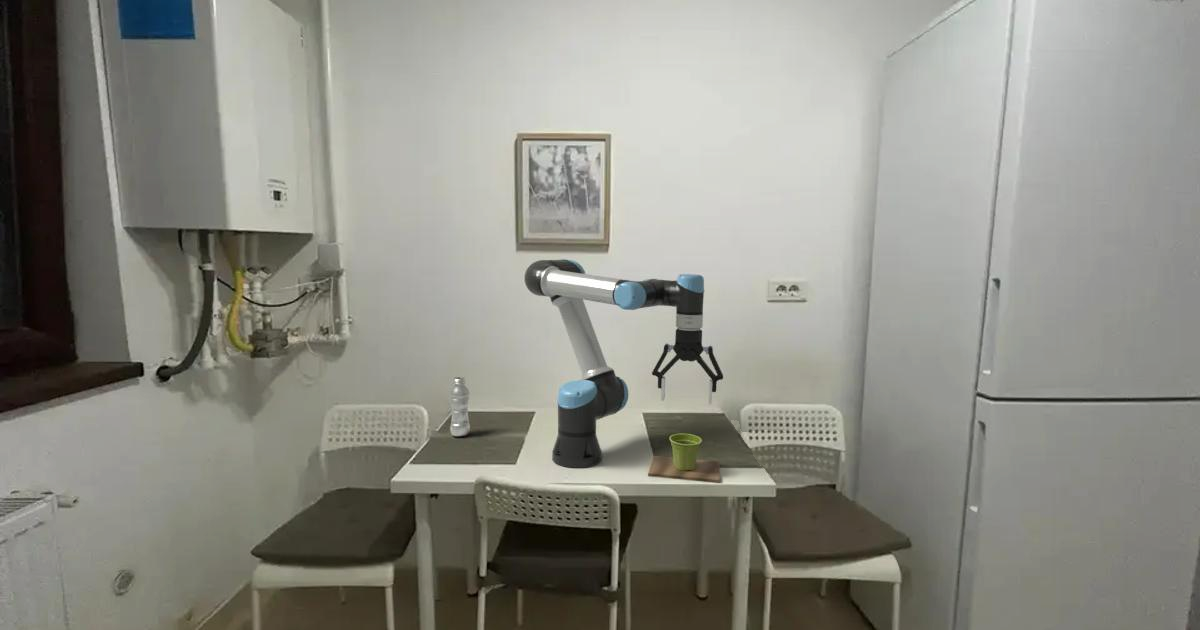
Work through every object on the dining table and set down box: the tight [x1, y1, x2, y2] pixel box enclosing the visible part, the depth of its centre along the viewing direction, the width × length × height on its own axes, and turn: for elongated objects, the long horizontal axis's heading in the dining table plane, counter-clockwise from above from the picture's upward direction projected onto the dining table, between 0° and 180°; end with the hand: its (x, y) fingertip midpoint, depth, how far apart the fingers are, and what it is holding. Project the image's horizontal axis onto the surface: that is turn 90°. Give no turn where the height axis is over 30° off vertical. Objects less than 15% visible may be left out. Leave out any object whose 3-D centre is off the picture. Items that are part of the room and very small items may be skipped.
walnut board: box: [647, 455, 721, 484], centre depth 167 cm, size 20×14×1 cm
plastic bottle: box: [449, 376, 471, 437], centre depth 194 cm, size 6×7×20 cm
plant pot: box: [669, 433, 703, 471], centre depth 167 cm, size 9×9×9 cm
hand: (686, 401), depth 165 cm, fingers open, 13 cm apart
